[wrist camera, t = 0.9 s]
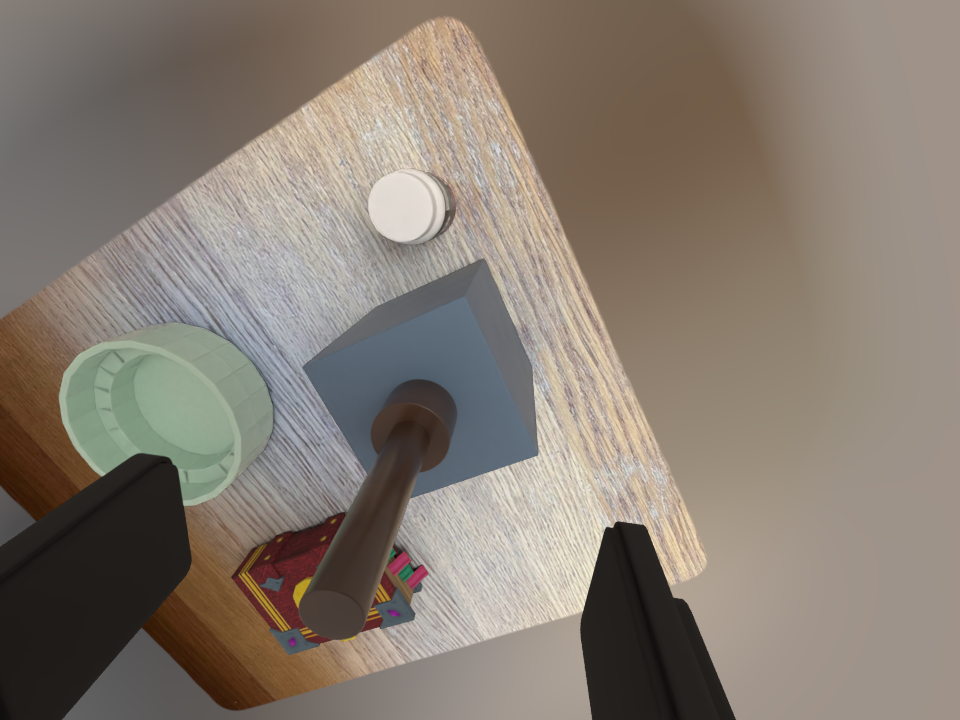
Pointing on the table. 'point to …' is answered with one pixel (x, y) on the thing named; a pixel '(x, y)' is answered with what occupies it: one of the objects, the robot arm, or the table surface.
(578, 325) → the table surface
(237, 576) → the decorative book
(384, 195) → the pill bottle
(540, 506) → the table surface
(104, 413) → the bowl
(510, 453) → the stand
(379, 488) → the brown wooden handle
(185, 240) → the table surface
